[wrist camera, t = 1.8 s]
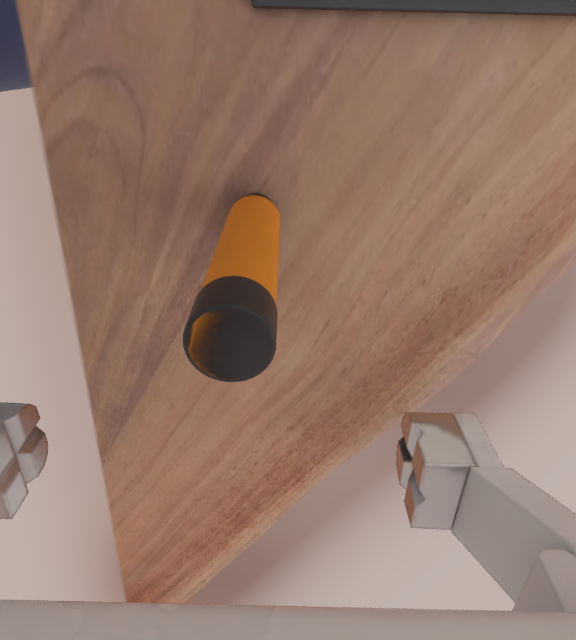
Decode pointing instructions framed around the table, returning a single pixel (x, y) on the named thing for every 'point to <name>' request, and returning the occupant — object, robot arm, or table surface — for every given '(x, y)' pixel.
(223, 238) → the marker
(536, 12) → the clipboard
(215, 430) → the table surface
